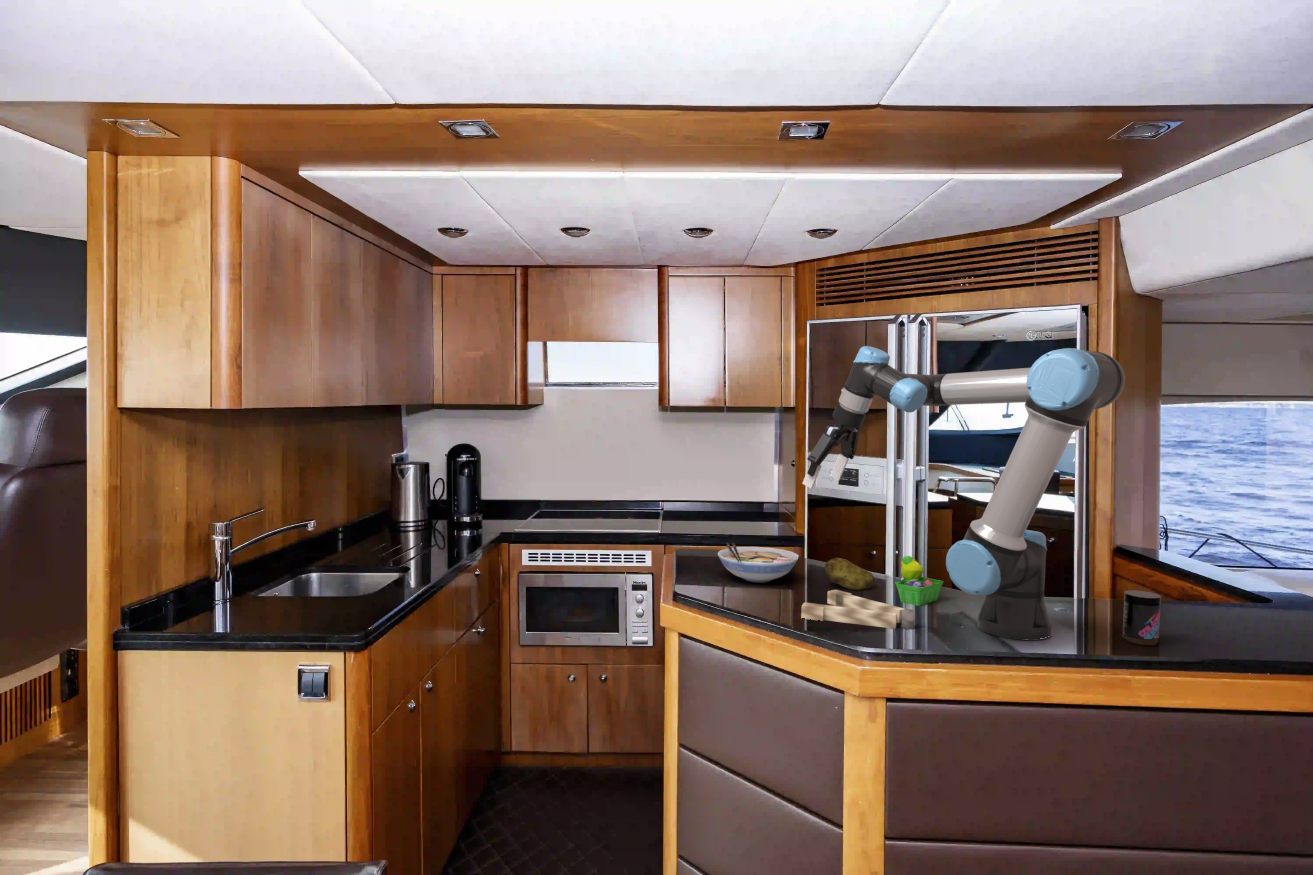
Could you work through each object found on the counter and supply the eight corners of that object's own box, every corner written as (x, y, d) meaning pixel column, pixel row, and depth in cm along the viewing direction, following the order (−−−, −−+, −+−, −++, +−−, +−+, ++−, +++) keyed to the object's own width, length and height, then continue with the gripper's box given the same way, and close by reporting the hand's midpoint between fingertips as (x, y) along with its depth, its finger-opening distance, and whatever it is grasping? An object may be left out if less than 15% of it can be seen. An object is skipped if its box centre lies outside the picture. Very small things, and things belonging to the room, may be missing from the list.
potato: (870, 594, 207) (871, 564, 206) (821, 588, 212) (822, 559, 212) (875, 587, 214) (876, 558, 214) (828, 582, 220) (829, 553, 219)
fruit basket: (920, 608, 194) (922, 562, 193) (889, 600, 200) (890, 557, 200) (944, 600, 201) (945, 557, 201) (912, 594, 208) (914, 551, 207)
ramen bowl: (806, 591, 208) (806, 561, 208) (719, 590, 209) (720, 559, 208) (791, 571, 233) (791, 543, 233) (714, 569, 234) (714, 542, 233)
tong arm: (907, 620, 181) (907, 608, 181) (899, 623, 179) (899, 610, 179) (835, 601, 197) (835, 589, 197) (827, 603, 196) (827, 591, 195)
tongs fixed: (915, 626, 178) (915, 609, 177) (913, 632, 173) (913, 615, 173) (805, 613, 187) (805, 597, 187) (801, 618, 183) (801, 602, 182)
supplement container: (1132, 646, 166) (1134, 597, 165) (1115, 636, 173) (1118, 589, 172) (1165, 647, 166) (1167, 598, 165) (1147, 637, 172) (1150, 590, 172)
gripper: (863, 398, 205) (834, 468, 213) (813, 404, 186) (783, 481, 194) (888, 410, 200) (857, 482, 208) (839, 418, 182) (807, 496, 190)
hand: (821, 482), depth 201 cm, fingers open, 13 cm apart
